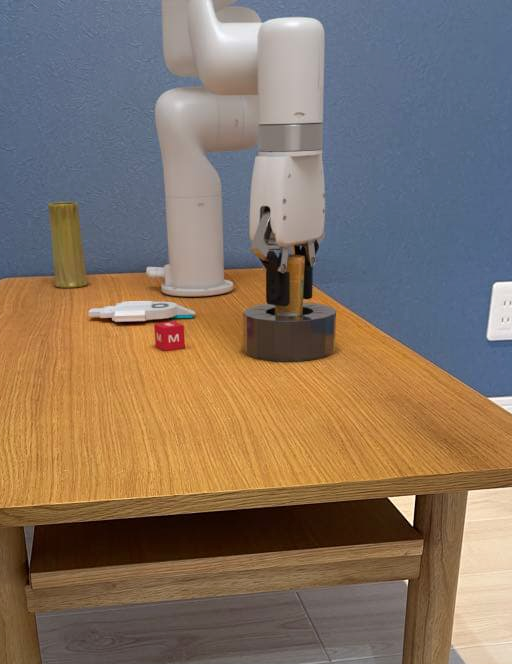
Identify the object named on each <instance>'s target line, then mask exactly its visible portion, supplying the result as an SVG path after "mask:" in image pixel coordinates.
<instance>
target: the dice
mask: <svg viewBox="0 0 512 664" xmlns="http://www.w3.org/2000/svg"><path fill="white" fill-rule="evenodd" d="M153 325H154V327H153V328H154V341H155V343H154V344H155V347H156V348H158V349H160V350H161V351H164V352H167V351H172V350H181V349H185V348H186V343H185V342H186V341H185V325H184V324H181V323H180V322H178V321H176V320H174V321H166V322H158V323H153Z"/></svg>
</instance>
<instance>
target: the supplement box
mask: <svg viewBox="0 0 512 664" xmlns="http://www.w3.org/2000/svg"><path fill="white" fill-rule="evenodd" d="M277 257H278V258H279V256H277ZM304 267H305V256H302V255H292V253H290V254H289V253H288V260H287V268H286V272H290V302H289V305H288V306H278V305H275V316H302V313H303V302H304V299H303V290H304Z"/></svg>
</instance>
